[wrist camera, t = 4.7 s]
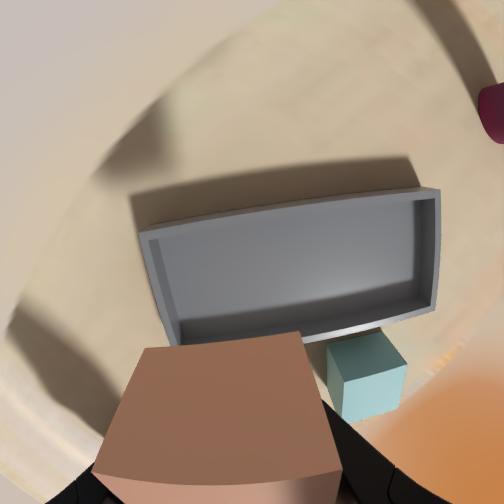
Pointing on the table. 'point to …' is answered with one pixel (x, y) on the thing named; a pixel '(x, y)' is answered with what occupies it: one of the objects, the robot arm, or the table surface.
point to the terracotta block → (222, 427)
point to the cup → (493, 111)
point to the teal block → (364, 376)
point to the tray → (297, 267)
